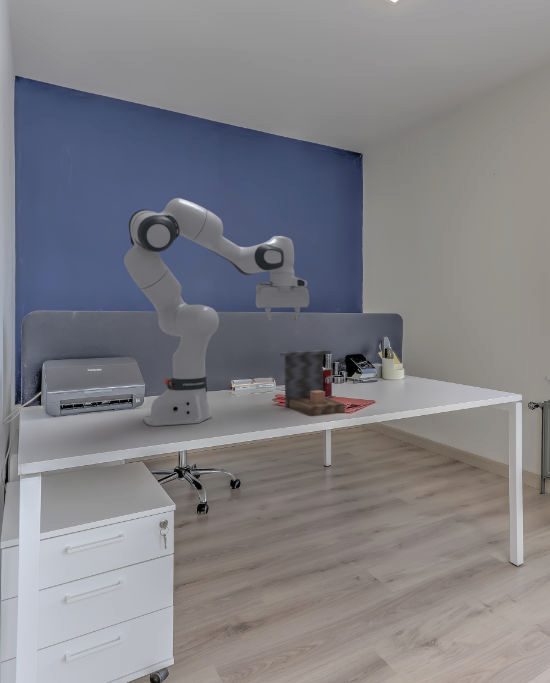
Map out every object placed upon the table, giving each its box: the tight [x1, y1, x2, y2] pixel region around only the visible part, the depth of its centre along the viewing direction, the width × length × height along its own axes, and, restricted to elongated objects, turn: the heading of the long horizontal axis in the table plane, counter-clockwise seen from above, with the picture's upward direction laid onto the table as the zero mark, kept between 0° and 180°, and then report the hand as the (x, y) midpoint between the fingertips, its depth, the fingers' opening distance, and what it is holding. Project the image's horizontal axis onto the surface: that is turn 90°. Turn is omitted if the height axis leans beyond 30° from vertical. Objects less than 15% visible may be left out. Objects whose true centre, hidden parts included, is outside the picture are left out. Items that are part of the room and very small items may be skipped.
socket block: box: [279, 349, 346, 417], centre depth 171 cm, size 20×18×21 cm
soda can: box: [323, 367, 333, 398], centre depth 196 cm, size 7×7×12 cm
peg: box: [310, 390, 325, 404], centre depth 170 cm, size 4×4×7 cm
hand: (282, 320), depth 169 cm, fingers open, 8 cm apart
